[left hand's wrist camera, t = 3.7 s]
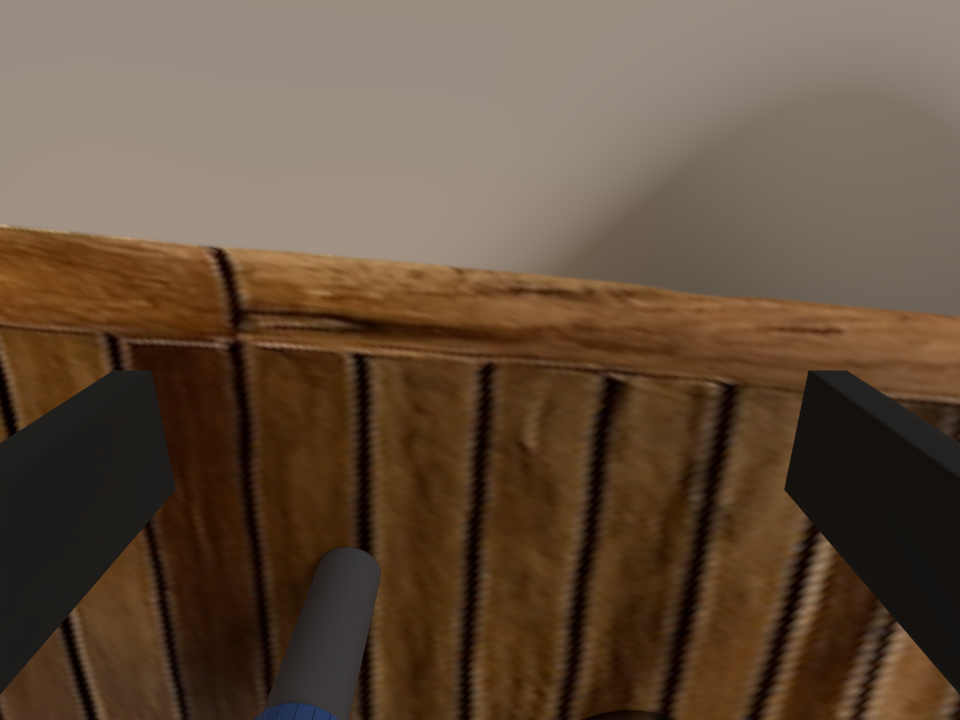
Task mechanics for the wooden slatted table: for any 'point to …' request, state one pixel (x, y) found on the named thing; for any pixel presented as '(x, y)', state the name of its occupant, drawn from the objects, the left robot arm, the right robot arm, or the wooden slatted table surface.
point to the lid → (295, 713)
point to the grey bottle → (330, 634)
